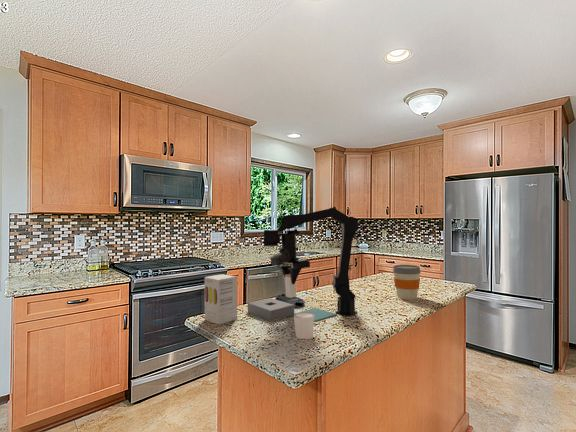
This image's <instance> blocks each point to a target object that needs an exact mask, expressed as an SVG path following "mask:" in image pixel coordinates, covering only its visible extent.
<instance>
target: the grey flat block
mask: <svg viewBox="0 0 576 432" xmlns="http://www.w3.org/2000/svg"><path fill="white" fill-rule="evenodd" d="M247 313H249V314H250V315H253V316H256V317H259V318H261V319H264V320H267V321H269V322H272V321H277V320H281V319H283V318H287V317H291V316H294V314H295V307H294V305H293V304H289V303H286V302H283V301H279V300H276V299H275V298H272V297H269V298H263V299H259V300H255V301H250V302H247Z"/></svg>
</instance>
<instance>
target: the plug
mask: <svg viewBox="0 0 576 432" xmlns="http://www.w3.org/2000/svg"><path fill="white" fill-rule="evenodd" d="M284 281H285V282H284V284H285V285H284V286H285V295H286V297H290V298H292V297H297V285H296V282H297V281H296V282H295V284H292V281H291V274H285V277H284Z"/></svg>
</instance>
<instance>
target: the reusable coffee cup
mask: <svg viewBox="0 0 576 432" xmlns="http://www.w3.org/2000/svg"><path fill="white" fill-rule="evenodd" d="M392 269H393V270H392V272H393V275H394V276H393V281H394V282H393V283H394V287H395V289H396V295H397V296H396V297H397V298H398V299H401V300H410V301H411V300H417V299H418V292H419V289H420V282H421V279H420V274H421V267H420V266H418V265H414V264H396V265H393V268H392Z"/></svg>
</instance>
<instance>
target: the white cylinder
mask: <svg viewBox="0 0 576 432" xmlns="http://www.w3.org/2000/svg"><path fill="white" fill-rule="evenodd" d="M300 312H301V313H298V312H295V313H296V314H295V313H294V315H293V321H294V330H295V337H296V338H297V339H299V340H311V339H312V338H313V337H314V326H315V322H314V314H312V313H307V312H302V311H300Z"/></svg>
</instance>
